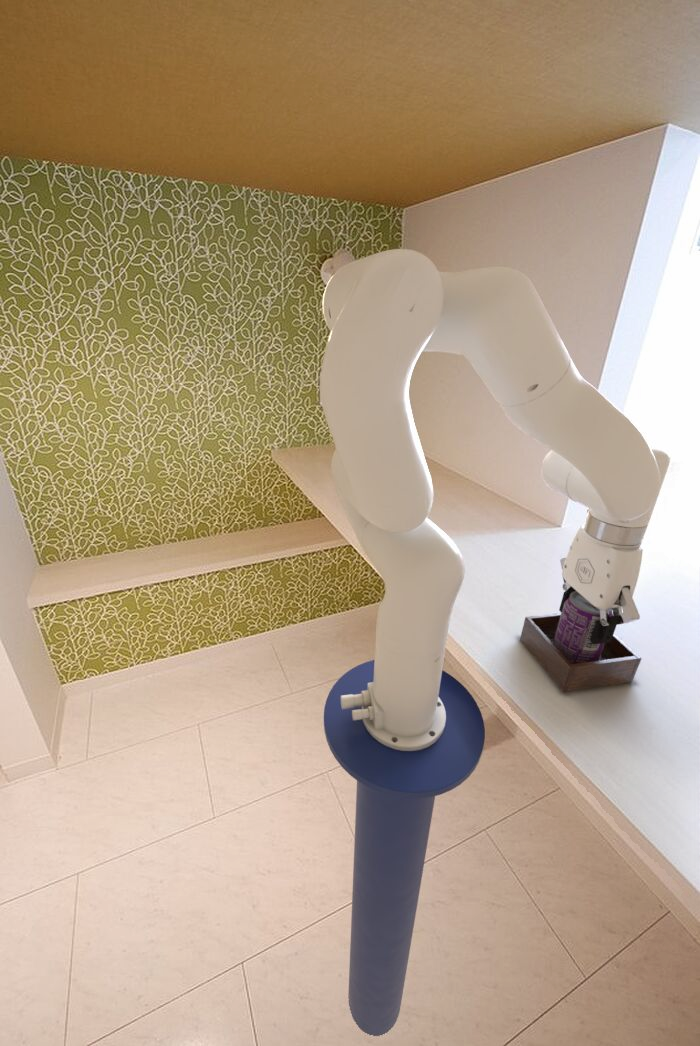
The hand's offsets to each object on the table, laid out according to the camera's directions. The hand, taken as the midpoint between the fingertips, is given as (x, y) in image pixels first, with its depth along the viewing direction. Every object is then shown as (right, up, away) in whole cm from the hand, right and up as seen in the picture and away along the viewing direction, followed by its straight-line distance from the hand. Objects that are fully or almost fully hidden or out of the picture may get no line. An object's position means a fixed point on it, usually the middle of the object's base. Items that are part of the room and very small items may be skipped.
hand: (583, 625), depth 70 cm
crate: (0, -6, +3) cm, 7 cm away
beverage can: (0, -7, +3) cm, 7 cm away
